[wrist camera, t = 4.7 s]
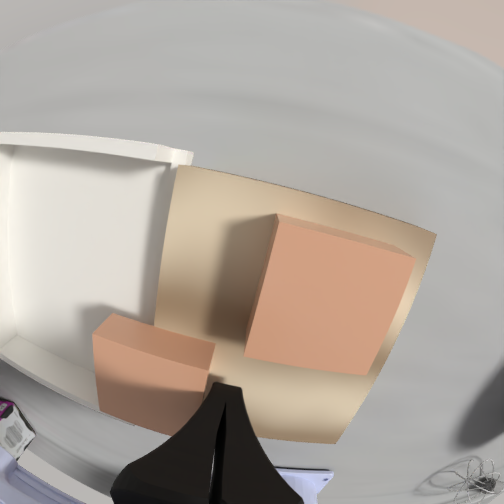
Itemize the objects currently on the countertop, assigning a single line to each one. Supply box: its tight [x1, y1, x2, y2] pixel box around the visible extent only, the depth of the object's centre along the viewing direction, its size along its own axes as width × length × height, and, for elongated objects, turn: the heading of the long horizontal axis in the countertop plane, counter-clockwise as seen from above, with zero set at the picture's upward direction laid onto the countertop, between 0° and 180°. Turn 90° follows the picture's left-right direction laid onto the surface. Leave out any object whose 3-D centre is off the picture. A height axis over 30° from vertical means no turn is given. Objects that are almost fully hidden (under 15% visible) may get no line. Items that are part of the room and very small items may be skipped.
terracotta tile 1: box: [92, 313, 216, 436], centre depth 12 cm, size 5×5×2 cm
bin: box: [0, 132, 194, 426], centre depth 12 cm, size 14×12×3 cm
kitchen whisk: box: [448, 459, 504, 504], centre depth 18 cm, size 6×34×6 cm, turn 48°
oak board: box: [154, 164, 437, 444], centre depth 13 cm, size 13×11×2 cm
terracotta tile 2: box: [243, 213, 416, 375], centre depth 11 cm, size 5×5×2 cm
